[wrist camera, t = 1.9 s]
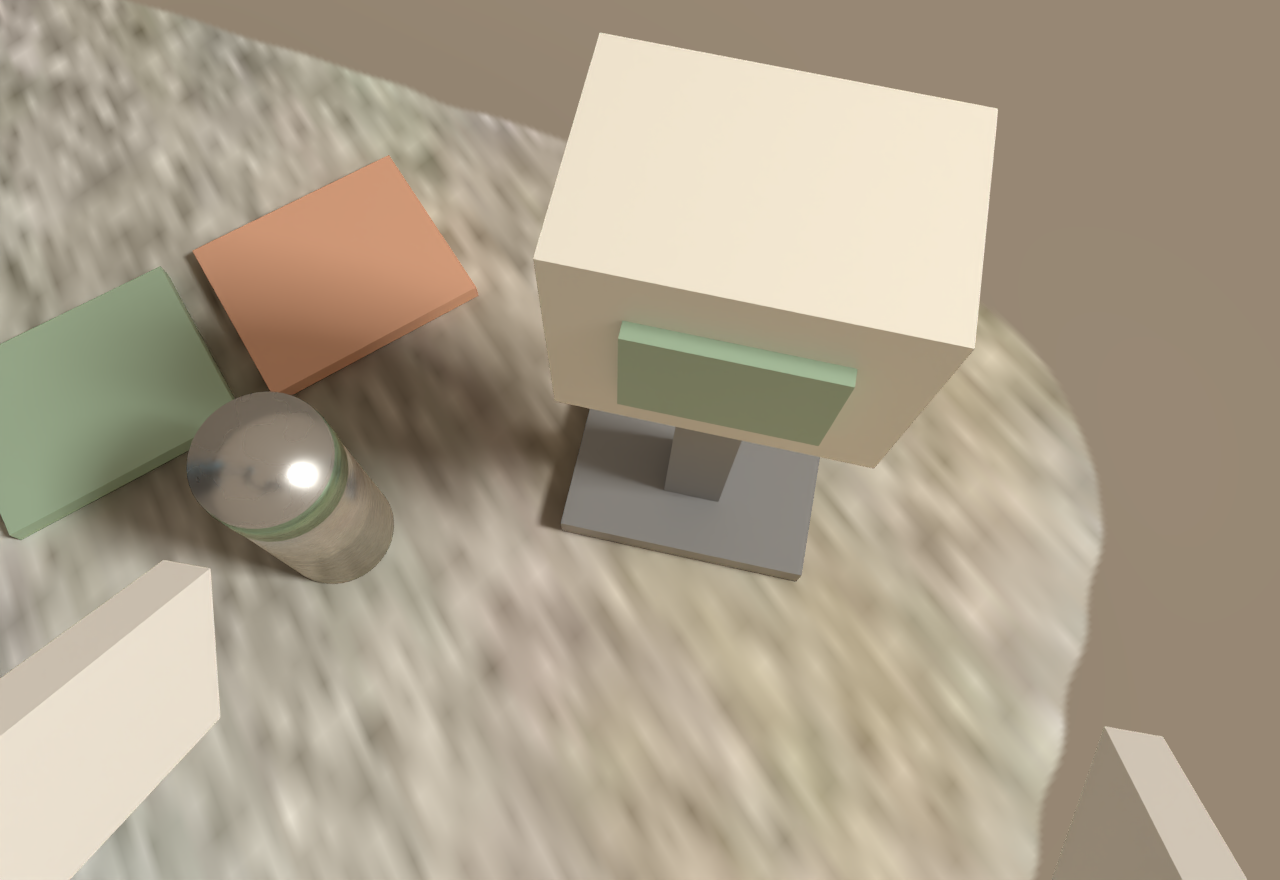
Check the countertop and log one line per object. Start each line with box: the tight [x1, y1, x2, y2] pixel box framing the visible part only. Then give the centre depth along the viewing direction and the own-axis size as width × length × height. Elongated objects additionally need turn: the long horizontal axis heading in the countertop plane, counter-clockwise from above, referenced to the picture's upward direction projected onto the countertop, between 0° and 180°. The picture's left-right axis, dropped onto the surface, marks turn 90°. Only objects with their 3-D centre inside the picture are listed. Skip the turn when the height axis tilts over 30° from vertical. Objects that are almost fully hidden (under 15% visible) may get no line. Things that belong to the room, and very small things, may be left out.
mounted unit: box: [533, 33, 998, 581], centre depth 39 cm, size 9×13×28 cm
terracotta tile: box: [193, 155, 478, 395], centre depth 55 cm, size 11×13×1 cm
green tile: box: [0, 266, 235, 540], centre depth 52 cm, size 11×13×1 cm
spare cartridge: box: [187, 392, 394, 584], centre depth 45 cm, size 6×6×12 cm
